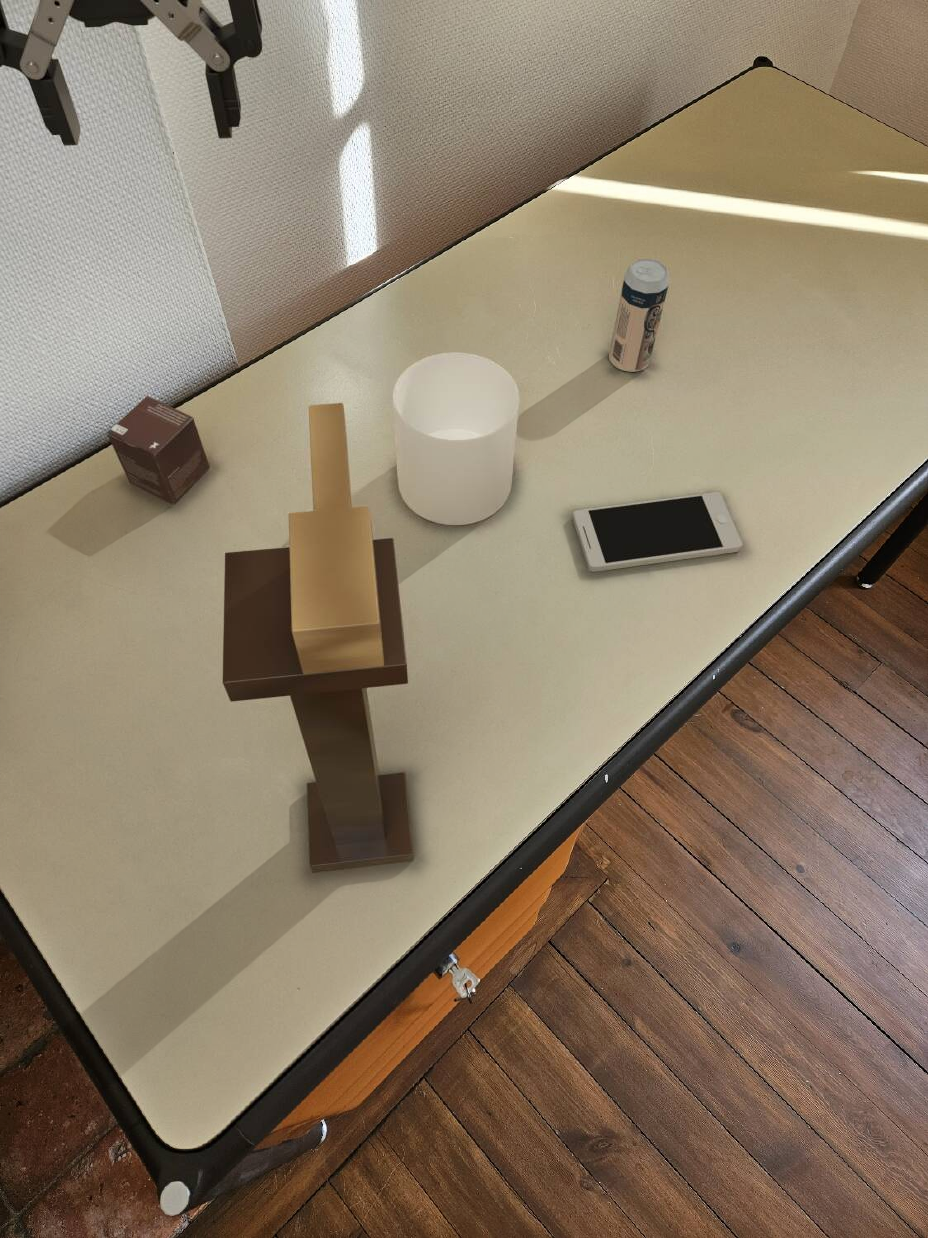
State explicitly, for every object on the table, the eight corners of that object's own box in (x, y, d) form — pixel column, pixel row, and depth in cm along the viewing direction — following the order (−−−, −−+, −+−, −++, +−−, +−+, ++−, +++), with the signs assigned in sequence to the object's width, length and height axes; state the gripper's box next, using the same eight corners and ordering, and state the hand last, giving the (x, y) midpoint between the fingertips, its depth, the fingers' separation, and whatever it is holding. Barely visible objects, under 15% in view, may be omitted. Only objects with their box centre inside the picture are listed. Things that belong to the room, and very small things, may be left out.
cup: (535, 485, 93) (545, 398, 83) (451, 545, 89) (452, 461, 79) (457, 423, 98) (459, 334, 88) (374, 478, 94) (366, 390, 83)
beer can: (648, 377, 102) (671, 287, 92) (606, 372, 103) (624, 281, 93) (650, 349, 105) (672, 258, 95) (609, 344, 105) (627, 252, 95)
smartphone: (741, 551, 89) (744, 545, 88) (589, 572, 87) (590, 567, 87) (717, 496, 93) (720, 490, 92) (571, 516, 91) (572, 509, 90)
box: (212, 468, 94) (195, 417, 88) (173, 507, 91) (154, 456, 85) (166, 445, 95) (147, 393, 89) (127, 483, 93) (104, 431, 86)
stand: (306, 880, 71) (222, 683, 44) (302, 784, 75) (224, 552, 48) (420, 866, 72) (406, 664, 45) (411, 773, 76) (393, 537, 49)
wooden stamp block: (302, 675, 44) (291, 631, 41) (294, 424, 53) (284, 372, 50) (384, 666, 45) (379, 623, 41) (362, 419, 54) (357, 367, 50)
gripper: (-154, -215, 35) (12, 179, 49) (216, -221, 37) (277, 165, 50) (-113, -274, 39) (30, 105, 53) (219, -278, 41) (275, 94, 54)
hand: (150, 134), depth 52 cm, fingers open, 8 cm apart
